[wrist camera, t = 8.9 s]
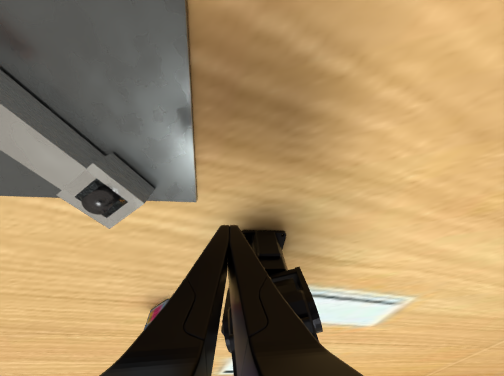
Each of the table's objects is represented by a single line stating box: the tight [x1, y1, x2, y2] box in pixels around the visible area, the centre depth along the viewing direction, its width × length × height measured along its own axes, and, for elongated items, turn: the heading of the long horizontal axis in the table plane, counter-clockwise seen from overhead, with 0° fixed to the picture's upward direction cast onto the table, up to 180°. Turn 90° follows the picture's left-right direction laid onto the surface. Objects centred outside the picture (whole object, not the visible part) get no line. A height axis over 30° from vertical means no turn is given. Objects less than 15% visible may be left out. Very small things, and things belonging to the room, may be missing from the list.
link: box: [0, 70, 155, 229], centre depth 15 cm, size 18×5×3 cm, turn 34°
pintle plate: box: [0, 0, 197, 215], centre depth 14 cm, size 19×22×5 cm
